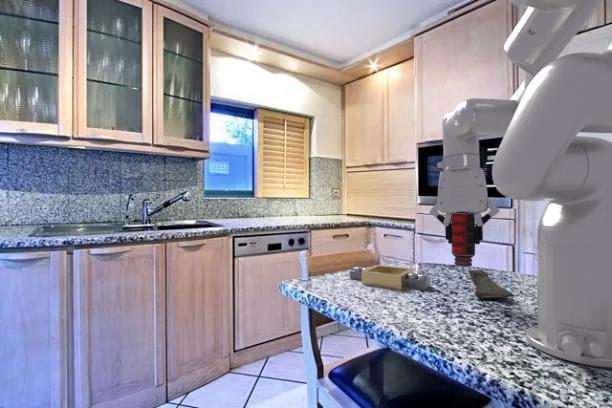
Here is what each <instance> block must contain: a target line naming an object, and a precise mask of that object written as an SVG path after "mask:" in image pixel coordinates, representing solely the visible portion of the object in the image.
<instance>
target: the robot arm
mask: <svg viewBox="0 0 612 408" xmlns="http://www.w3.org/2000/svg"><path fill="white" fill-rule="evenodd" d="M508 1H509V2H510V4H512V5H514V6H517V7H522V8H527V9H526V11H525V12H524V14H523V15H522V17H521V18H520V20H519V21H518V23H517V24H516V26H515V27H514V29H513V31H512V32H511V34H510V35H509V37H508V38H507V39H506V41H505V43H504V47H503V49H504V54H505V56H506V57H507V59H508V60H510V62H511V63H513V64H514V65H515V66H516V67H518V68H520V69H521V70H523V71H524V72H525V74H524V78H523V81H522V83H521V84H520V86H519V88H518V89H517V90H516V92H514V94H513V95H512V97H510V99H502V98H501V99H499V98H498V99H497V98H479V97H478V98H468V99H465V100H463V101H462V102H461V103H459V105H457V106H456V108H455V109H454V110H453V111H450V112H448V113H446V114H445V115H444V116H443V118H442V121H441V122H442V149H443V151H442V152H443V158H442V160H441V161H439V162H437V163H436V165H437V168H438V169H440V168H441V169H443V170H442V171H440V173H439V178H438V187H437V201H436V203H435V204H434V205H433V206H432V208H431V209H430V210H429V214H430V215H432V216H433V217H434V218H436V219H437V220H438V221H439V222H440V223H441V224H442V225H443V226H444V229H445V230H444V231H445V240H446V241H447V243H448V244H451V245H452V213H456V212H460V211H462V212H468V213H474V218H475V227H474V237H475V245H480V244H481V242H482V241H484V236H483V235H484V232H483V229H484V227H483V226H484V225H485V224H486V223H488V221H490V220H491V219H492V218H493V217H495V216H497V214H499V213H500V209H499V207H498V206H497V205H496V204H494V203H493V201H491V199H489V196H488V188H487V181H486V176H485V172H484V169H483V168H481V167H480V165H481V164H480V162H481V161H480V142H479V136H480V137H483V136H485V137H487V136H488V137H489V136H492V137H502V140H501V142H500V145H499V147H498V149H497V151H496V153H495V157H494V160H493V163H492V168H491V169H492V170H491V176H492V182H493V185H494V187H495V188H496V190H497V191H498V192H499V194H501V195H502V196H504V197H506V198H508V199H512V200H516V201H525V202H528V201H529V202H540V201H541V202H547V204H546V205H545V206H546V207H545V208H544V210H543V212H542V214H541V216H540V219H539V221H538V227H537V233H536V235H537V238H536V239H537V240H536V241H537V242H536V245H537V246H536V250H537V251H536V253H537V254H536V258H537V259H536V261H537V262H536V264H537V270H536V271H537V275H536V276H537V285H536V287H537V288H536V289H537V292H536V293H537V325H534V326H531V327H528V328H527V329H526V330H525V339H526V341H527V342H528V343H529V344H530V345H532V346H533V347H534V348H536V350H537V349H538V350H539V351H541V352H543V353H546V354H547V355H551V356H553V357H557V358H559V359H562V360H565V361H569V362H573V363H576V364H582V365H585V366H586V365H587V366H592V367H598V368H611V369H612V142H611V141H609V140H608V139H602V138H599V137H596V136H595V137H594V136H593V137H592V136H581V135H580V136H579V135H578V134H579V133H587V134H589V133H590V134H592V133H593V134H612V40H611V41H610V42H609V44H608V46H607V47H606V48H605V50H604V51H603V52H602V53H598V52H584V51H582V52H574V53H568V54H564V55H563V56H560V55H561V53H562V52H563V51H564V50H565V49H566V48H567V46H568V45H569V44H570V42H571V41H572V40H573V38H574V37H575V36H576V35H577V34H578V32H579V31H580V30H581V28H583V26H584V25H585V24H586V23H587V21H588V20H589V19H590V18H591V16H592V15H593V14H594V12H595V11H596V10H597V9H598V8H599V6H600V5H601V3H603V2H604V0H508ZM559 56H560V57H559ZM577 135H578V136H577ZM488 209H489V212H487V211H488ZM485 212H487V213H486V214H484V215H483V216H482V213H485ZM443 214H445V215H443Z"/></svg>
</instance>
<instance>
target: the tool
mask: <svg viewBox="0 0 612 408" xmlns="http://www.w3.org/2000/svg"><path fill="white" fill-rule="evenodd" d="M468 274H469V276H470V279H471V280H472V282H473V283H474V284H476V290H475V292H474V295H475V297H477V298H479V299H488V298H489V299H502V298H511V297H512V298H514V297H515V295H514V293H512V292H510V291H509V290H508V289H505V288H503V287H502V286H500V285H498V284H497V283H496V282H494V281H493V280H492V279H491V278H490V277H489V274H488V272H486V271H484V270H482V269H470V270H469V271H468Z"/></svg>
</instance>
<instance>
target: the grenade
mask: <svg viewBox="0 0 612 408" xmlns="http://www.w3.org/2000/svg"><path fill="white" fill-rule="evenodd" d="M475 224H476V221H475V218H474V213H468V212H462V211H460V212H456V213H452V243H451V254H452V255H453V256H454V266H456V267H462V268H469V267H472V266H473V259H472V258H473V257H474V256H475V255H476V244H475V237H474V227H475V226H476V225H475Z"/></svg>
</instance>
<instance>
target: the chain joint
mask: <svg viewBox="0 0 612 408" xmlns="http://www.w3.org/2000/svg"><path fill="white" fill-rule="evenodd" d="M350 278H351V280H358V281H361V284H362V285H369V286H377V287H380V286H381V287H382V288H386V287H387V288H388V289H392V290H393V289H394V290H400V291H401V290H403V289H405V288H407V287H408V289H413V290H414V289H415V290H421V291H427V290H428V289H429V288H430V287H431V277H430V276H429V275H428V274H425V273H415V268H408V267H399V266H389V265H381V264H380V265H379V264H375V265H374V266H371V267H361V266H352V270H350V271H349V279H350Z"/></svg>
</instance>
